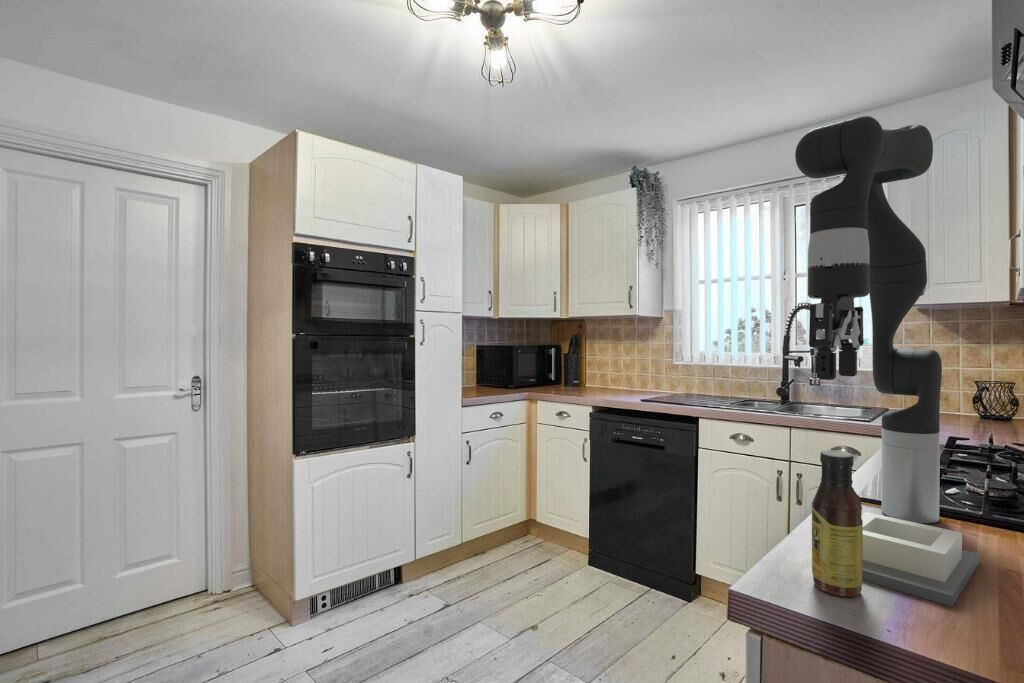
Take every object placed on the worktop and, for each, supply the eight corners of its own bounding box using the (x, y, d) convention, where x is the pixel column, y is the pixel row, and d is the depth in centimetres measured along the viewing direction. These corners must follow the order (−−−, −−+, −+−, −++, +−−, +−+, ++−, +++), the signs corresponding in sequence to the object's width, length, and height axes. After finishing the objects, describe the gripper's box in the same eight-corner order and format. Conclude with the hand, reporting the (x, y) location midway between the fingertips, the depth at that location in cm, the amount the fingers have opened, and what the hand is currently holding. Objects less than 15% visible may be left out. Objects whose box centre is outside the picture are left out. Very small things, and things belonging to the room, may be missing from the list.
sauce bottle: (816, 575, 81) (816, 445, 81) (865, 587, 77) (865, 450, 77) (807, 591, 76) (807, 453, 76) (859, 605, 72) (859, 459, 72)
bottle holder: (863, 534, 97) (863, 504, 97) (979, 563, 85) (979, 528, 85) (821, 567, 84) (821, 532, 84) (952, 606, 72) (952, 566, 71)
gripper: (827, 270, 83) (826, 374, 84) (789, 262, 74) (789, 379, 74) (883, 265, 78) (883, 376, 78) (850, 256, 68) (850, 382, 69)
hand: (837, 377), depth 76 cm, fingers open, 8 cm apart
